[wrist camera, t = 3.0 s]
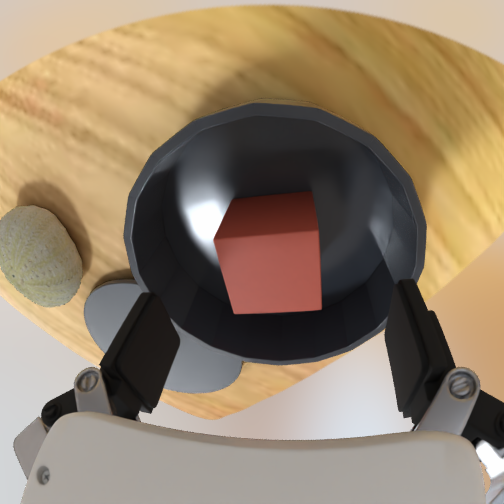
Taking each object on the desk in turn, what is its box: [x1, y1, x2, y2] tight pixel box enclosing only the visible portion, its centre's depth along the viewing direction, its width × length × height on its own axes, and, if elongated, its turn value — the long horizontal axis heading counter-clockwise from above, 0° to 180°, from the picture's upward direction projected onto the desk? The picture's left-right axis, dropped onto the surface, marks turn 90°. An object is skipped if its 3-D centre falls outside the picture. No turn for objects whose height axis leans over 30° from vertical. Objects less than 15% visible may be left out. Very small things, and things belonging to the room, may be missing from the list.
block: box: [213, 191, 322, 314], centre depth 15 cm, size 4×4×4 cm
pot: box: [124, 98, 427, 365], centre depth 15 cm, size 15×15×4 cm
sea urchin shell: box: [0, 205, 83, 307], centre depth 18 cm, size 9×8×8 cm
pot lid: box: [84, 279, 243, 393], centre depth 22 cm, size 15×15×7 cm
